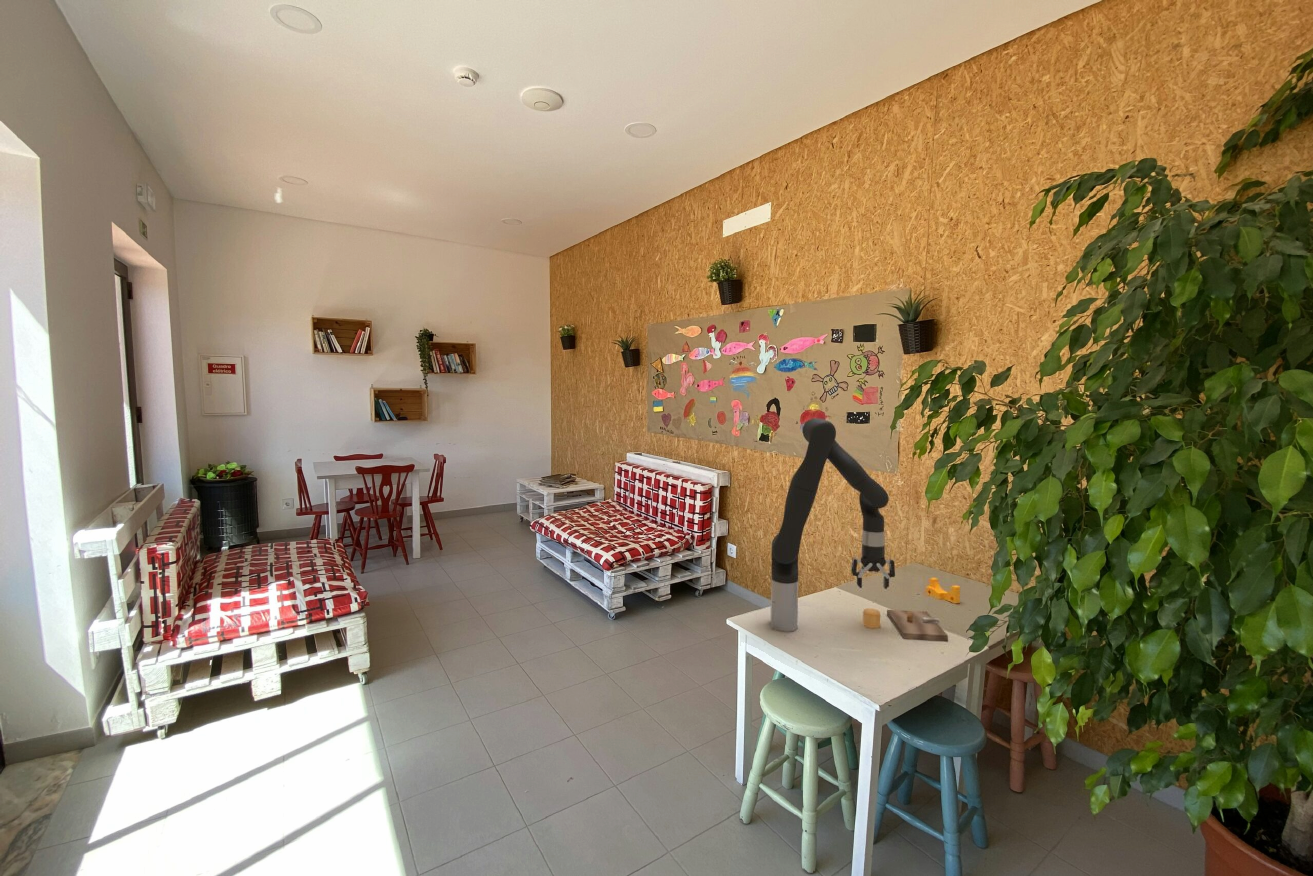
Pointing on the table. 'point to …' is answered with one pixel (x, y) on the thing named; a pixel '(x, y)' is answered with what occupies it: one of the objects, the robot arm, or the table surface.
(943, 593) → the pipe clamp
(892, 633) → the table surface
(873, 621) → the orange rounded block
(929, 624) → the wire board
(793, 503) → the robot arm
